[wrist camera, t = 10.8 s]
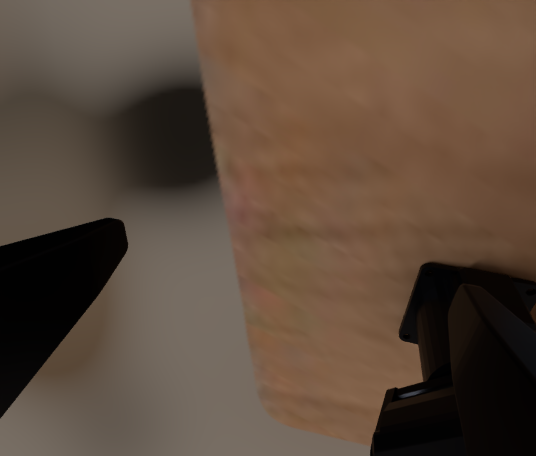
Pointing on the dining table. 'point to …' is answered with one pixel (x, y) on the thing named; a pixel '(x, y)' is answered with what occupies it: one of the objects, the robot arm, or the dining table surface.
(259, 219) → the dining table surface
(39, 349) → the robot arm
